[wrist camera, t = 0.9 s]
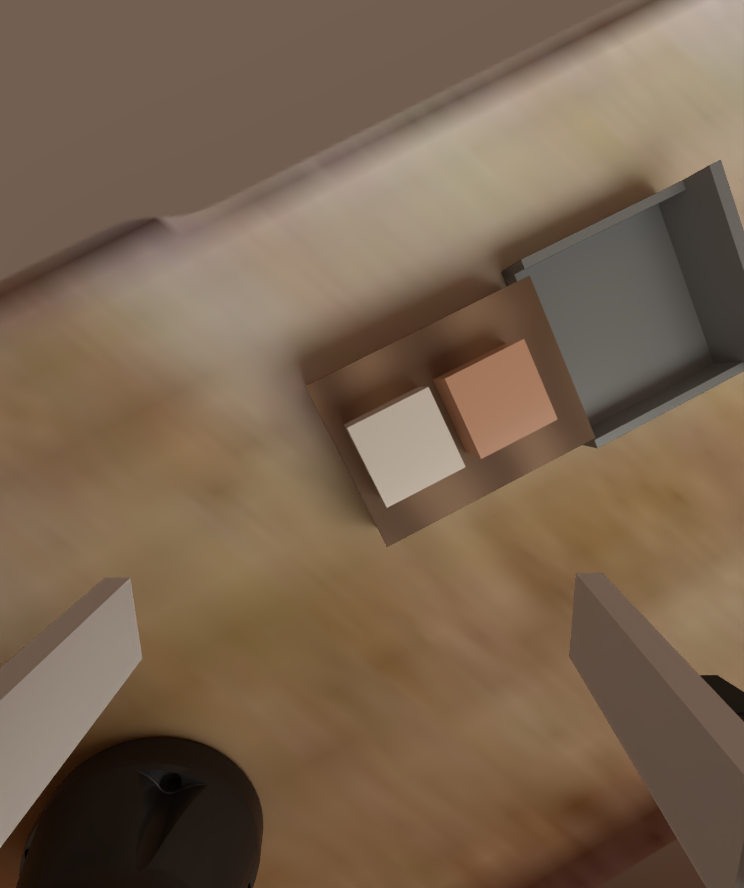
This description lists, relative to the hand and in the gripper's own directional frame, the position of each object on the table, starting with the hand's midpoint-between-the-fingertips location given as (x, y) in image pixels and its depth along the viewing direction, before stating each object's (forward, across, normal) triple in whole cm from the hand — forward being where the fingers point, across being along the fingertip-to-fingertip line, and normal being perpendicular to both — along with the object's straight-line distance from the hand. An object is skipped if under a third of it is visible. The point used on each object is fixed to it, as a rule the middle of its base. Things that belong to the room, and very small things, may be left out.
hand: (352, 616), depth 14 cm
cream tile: (+15, -2, -2) cm, 15 cm away
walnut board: (+20, -5, -3) cm, 21 cm away
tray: (+22, -18, -9) cm, 30 cm away
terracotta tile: (+16, -7, -4) cm, 18 cm away
